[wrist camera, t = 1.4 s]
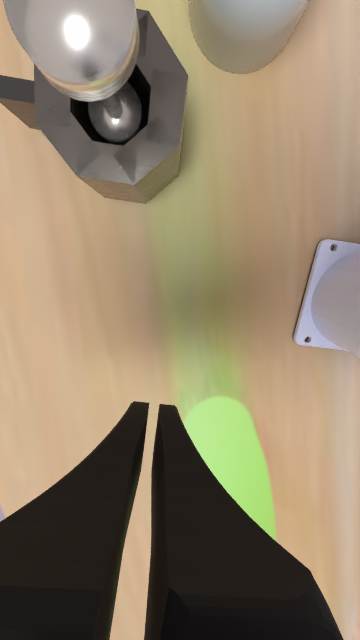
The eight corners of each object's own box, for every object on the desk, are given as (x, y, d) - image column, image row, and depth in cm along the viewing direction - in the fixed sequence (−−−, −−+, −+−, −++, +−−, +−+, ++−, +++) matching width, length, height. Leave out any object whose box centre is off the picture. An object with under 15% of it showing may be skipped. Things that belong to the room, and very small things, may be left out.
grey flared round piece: (156, 80, 13) (139, -74, 7) (148, 160, 14) (128, 88, 8) (83, 66, 13) (-2, -105, 7) (80, 149, 14) (4, 67, 7)
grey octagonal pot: (188, 92, 16) (194, 19, 11) (174, 207, 18) (174, 191, 13) (41, 66, 16) (-22, -23, 11) (42, 187, 17) (-12, 162, 12)
